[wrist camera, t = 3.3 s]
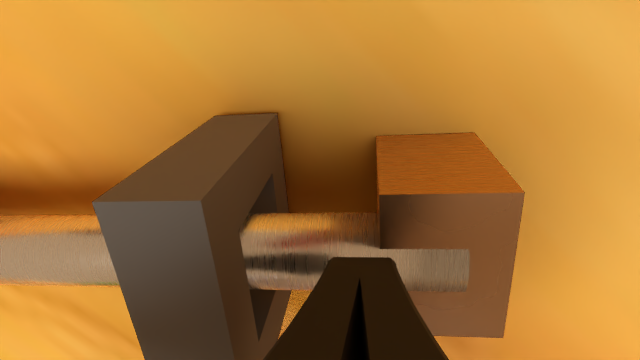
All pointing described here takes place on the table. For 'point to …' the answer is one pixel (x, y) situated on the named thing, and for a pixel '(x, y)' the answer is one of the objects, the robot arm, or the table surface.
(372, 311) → the robot arm
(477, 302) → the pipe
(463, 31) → the table surface
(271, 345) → the collar
